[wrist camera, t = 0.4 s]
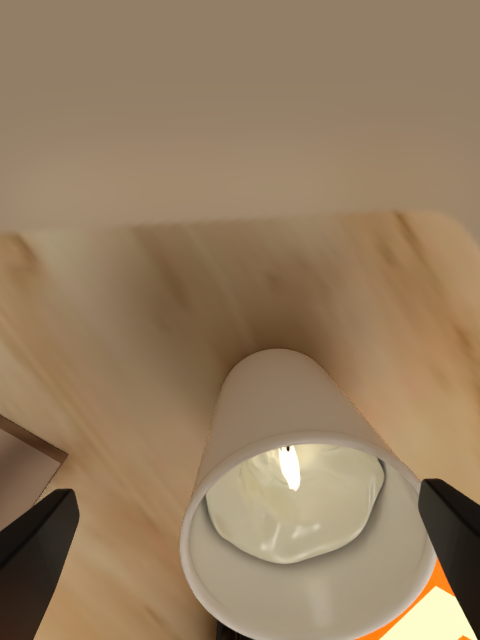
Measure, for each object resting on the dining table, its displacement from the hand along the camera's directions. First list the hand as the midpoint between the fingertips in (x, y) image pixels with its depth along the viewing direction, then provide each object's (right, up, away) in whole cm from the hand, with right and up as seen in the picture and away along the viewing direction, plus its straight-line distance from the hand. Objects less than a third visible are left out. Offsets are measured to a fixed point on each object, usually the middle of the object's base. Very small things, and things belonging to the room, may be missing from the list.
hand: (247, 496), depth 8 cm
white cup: (+2, -1, +16) cm, 16 cm away
